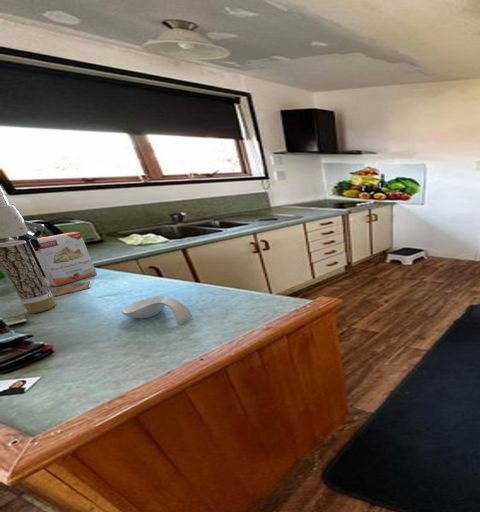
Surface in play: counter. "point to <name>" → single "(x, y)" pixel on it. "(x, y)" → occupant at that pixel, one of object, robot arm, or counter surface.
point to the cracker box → (64, 258)
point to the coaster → (72, 288)
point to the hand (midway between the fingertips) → (15, 253)
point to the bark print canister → (26, 276)
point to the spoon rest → (157, 308)
